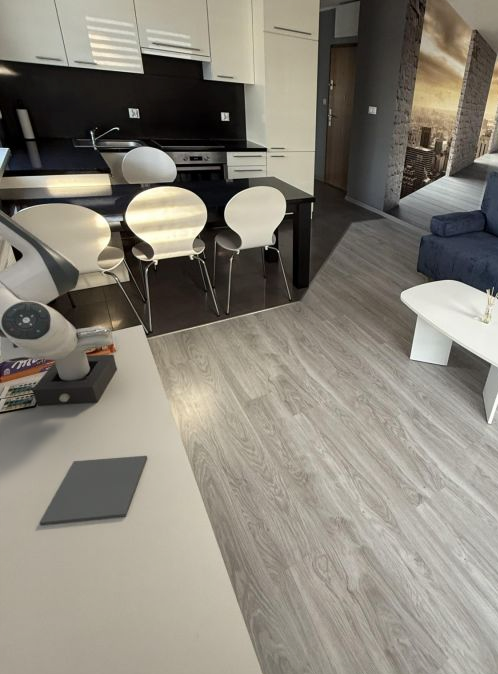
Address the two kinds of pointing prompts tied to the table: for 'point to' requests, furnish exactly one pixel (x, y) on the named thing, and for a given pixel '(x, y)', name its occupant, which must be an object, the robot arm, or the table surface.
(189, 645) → the table surface
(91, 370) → the blender base
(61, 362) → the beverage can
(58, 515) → the mat
